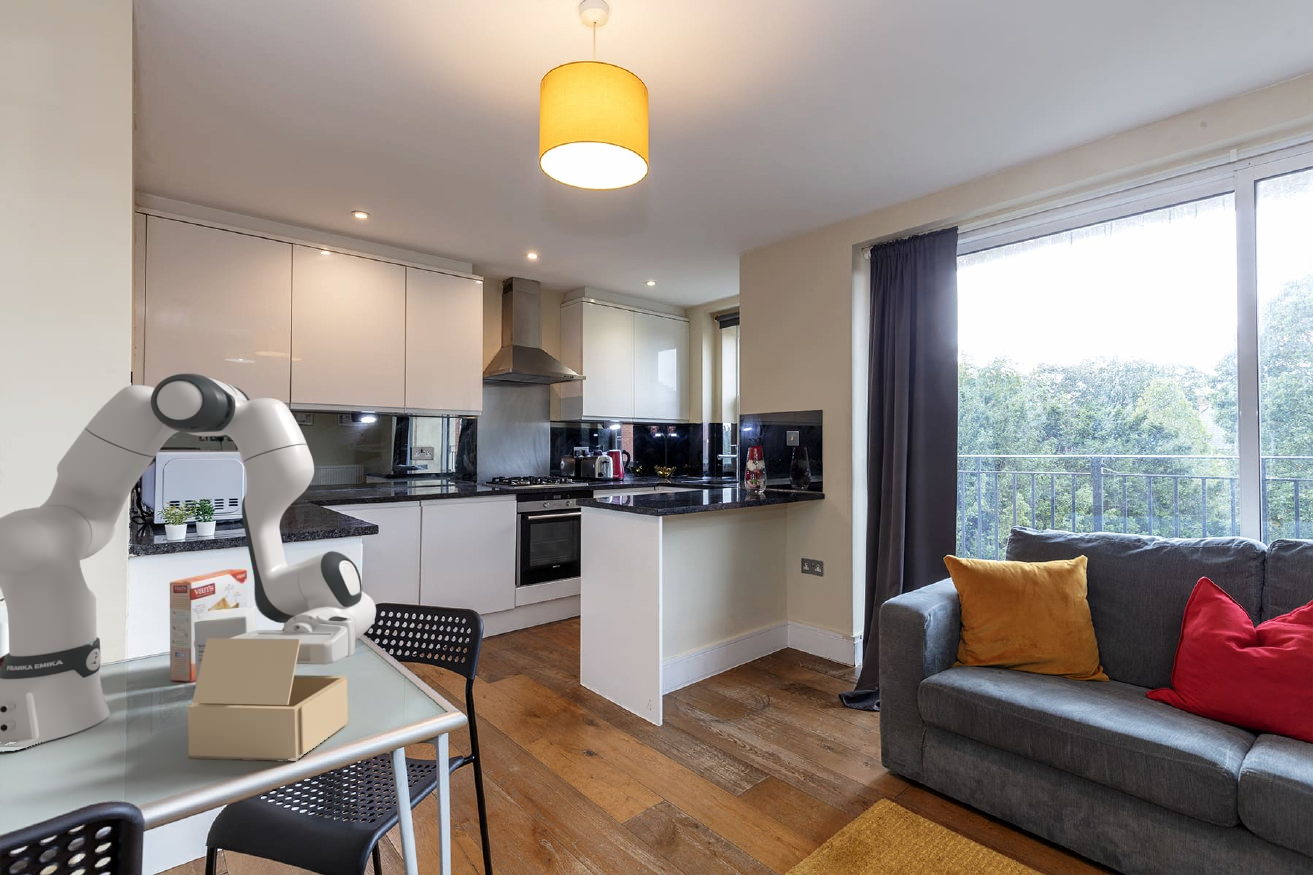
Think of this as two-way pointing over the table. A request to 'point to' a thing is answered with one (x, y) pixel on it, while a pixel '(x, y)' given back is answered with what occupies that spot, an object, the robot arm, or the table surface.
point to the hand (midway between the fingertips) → (250, 663)
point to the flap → (247, 671)
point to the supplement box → (222, 627)
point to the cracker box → (199, 613)
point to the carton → (270, 723)
